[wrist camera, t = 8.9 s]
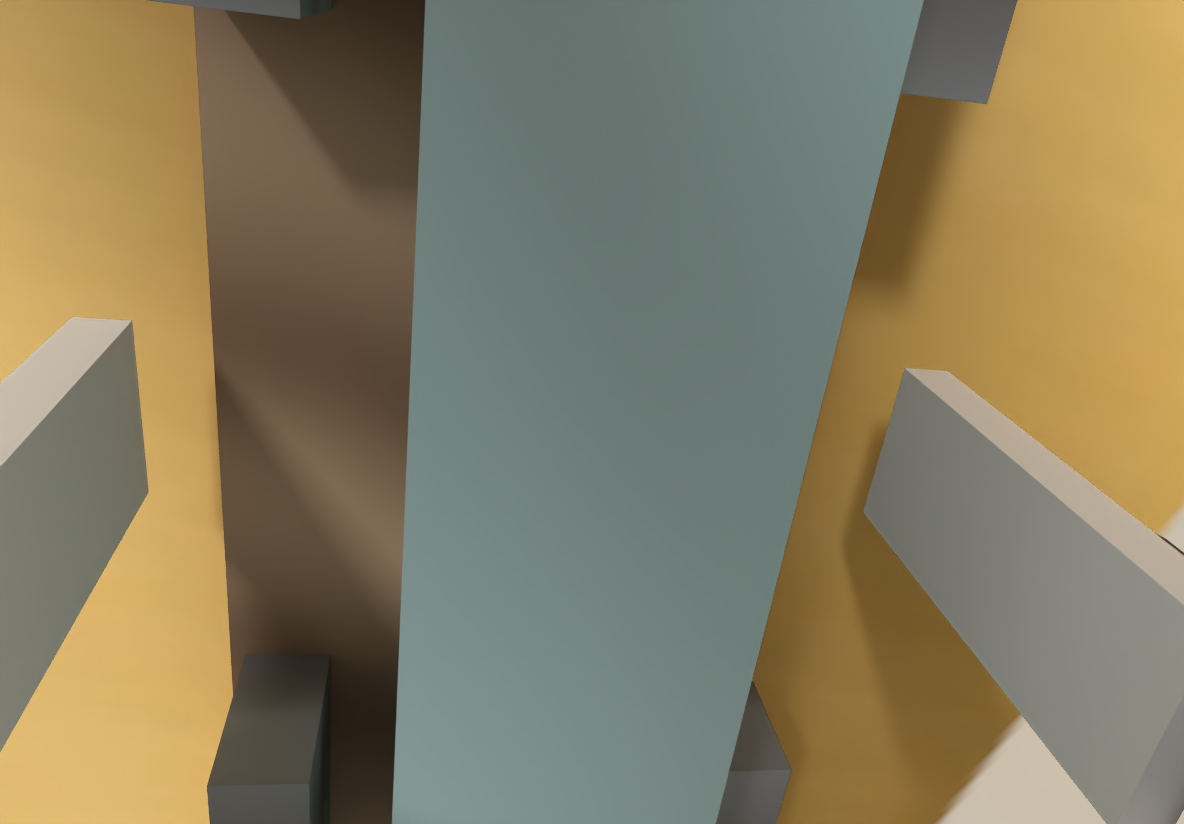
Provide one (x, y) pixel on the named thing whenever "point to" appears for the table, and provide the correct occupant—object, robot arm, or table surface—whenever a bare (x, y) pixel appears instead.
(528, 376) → the rail
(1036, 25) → the table surface
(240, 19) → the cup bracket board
